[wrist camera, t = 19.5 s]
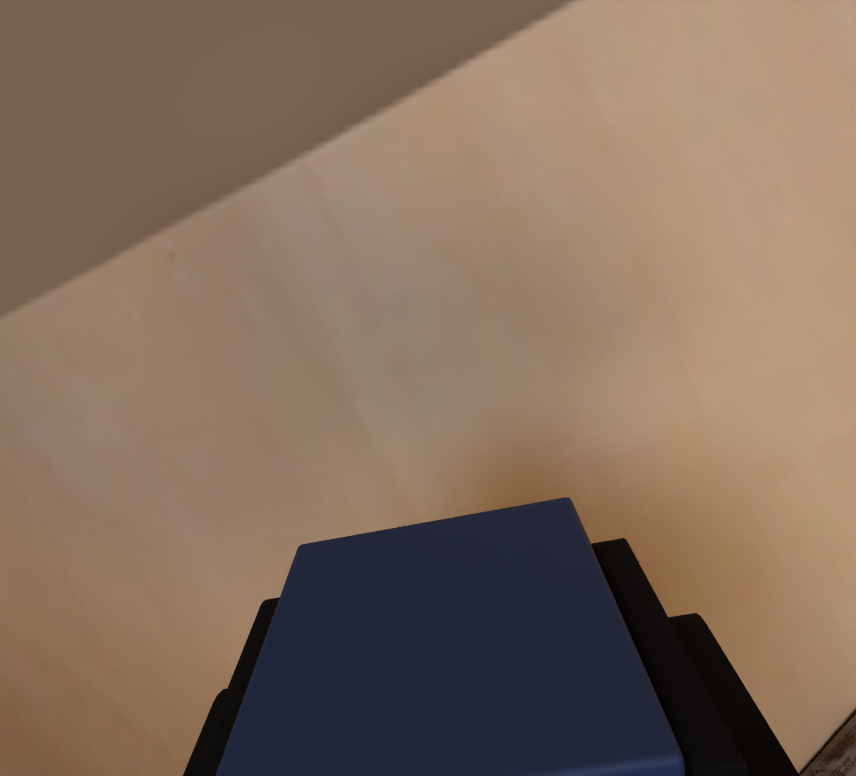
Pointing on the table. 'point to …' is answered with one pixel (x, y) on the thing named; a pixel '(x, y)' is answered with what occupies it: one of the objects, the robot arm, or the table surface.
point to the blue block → (452, 659)
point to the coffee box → (837, 755)
